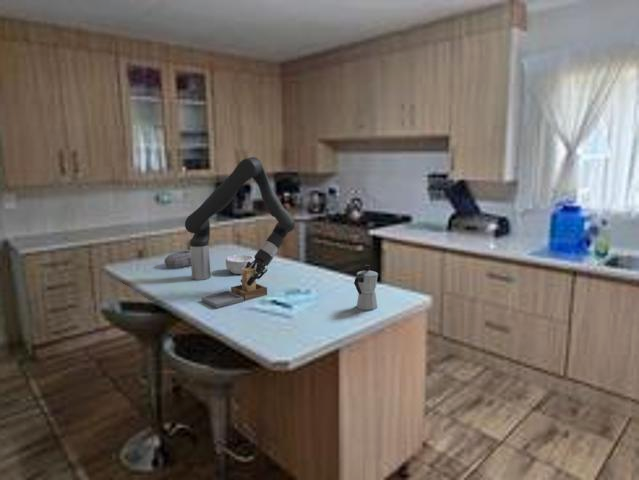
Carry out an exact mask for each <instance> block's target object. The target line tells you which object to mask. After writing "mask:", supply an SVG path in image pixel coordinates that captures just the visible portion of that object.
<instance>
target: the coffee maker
mask: <svg viewBox="0 0 639 480" xmlns="http://www.w3.org/2000/svg"><path fill="white" fill-rule="evenodd" d="M363 266H364V270H361V271H358V272H356V277H355V279H354V283H353V284H354V286H355V288H356V292H357V293H358V296H357V297H358V298H357V302H356V307H357V309H358V310H362V311H374V310H376V309H378V303H377V296H376V294H377V293H376V292H375V290H376V288H377V281H378V277H379V273H378V272H376V271H373V270H371V269H370V268H371V265H370V264H364V265H363Z"/></svg>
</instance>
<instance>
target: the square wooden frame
mask: <svg viewBox="0 0 639 480" xmlns="http://www.w3.org/2000/svg"><path fill="white" fill-rule="evenodd" d="M230 292H233V293H235V294H237V295H239V296H242V297H244V302H245V301H249V300H253V299H257V298H261V297H264V296H267V295H268V287H267V286H265V285H262V284H258V283H256V290H252V291H248V292H244V291H242V284H239V285H235V286H231V287H230Z"/></svg>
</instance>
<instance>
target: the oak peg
mask: <svg viewBox="0 0 639 480" xmlns="http://www.w3.org/2000/svg"><path fill="white" fill-rule="evenodd" d="M254 270H255V269H253V268H250V267H249V268H244V269H241V272H242V274H241V279H242V282H241V285H242V291H244V292H248V291H252V290H256V280H257V279H256V280H254V282H253V283H252V285H251V286H248V285H247V284H246V283H247V282H248V280H249V279H250V277H252V274H253V273H254V272H253V271H254Z"/></svg>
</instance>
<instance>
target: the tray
mask: <svg viewBox="0 0 639 480" xmlns="http://www.w3.org/2000/svg"><path fill="white" fill-rule="evenodd" d="M201 302H203V303H204V304H206V305H209V306H211V307H213V309H217V310H218V309H221V308H225V307H228V306H233V305H237V304H240V303H243V302H245V300H244V297H242V296H239V295H237V294H235V293H233V292H231V290H224V291H220V292H217V293H216V292H215V293H212V294H208V295H205V296H201Z"/></svg>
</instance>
